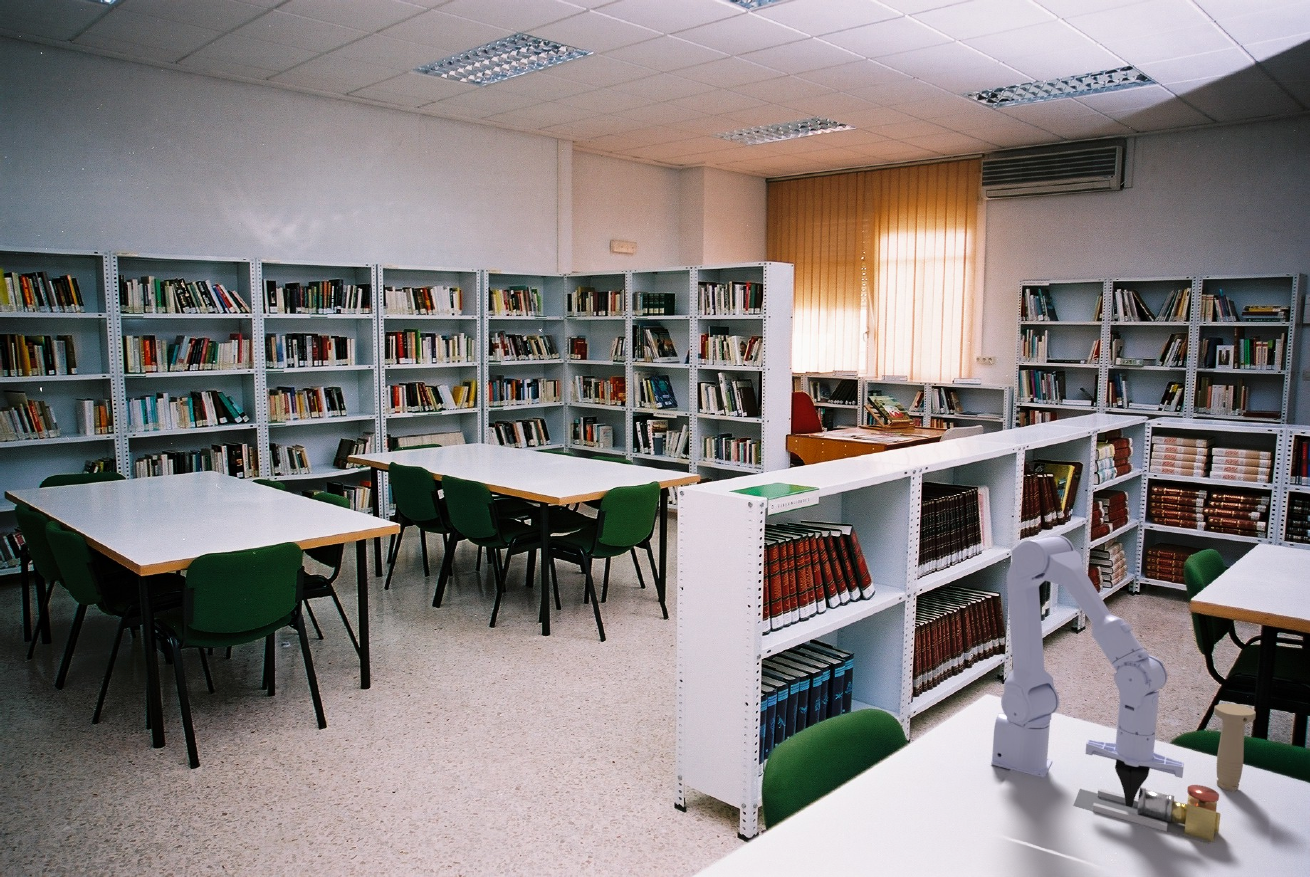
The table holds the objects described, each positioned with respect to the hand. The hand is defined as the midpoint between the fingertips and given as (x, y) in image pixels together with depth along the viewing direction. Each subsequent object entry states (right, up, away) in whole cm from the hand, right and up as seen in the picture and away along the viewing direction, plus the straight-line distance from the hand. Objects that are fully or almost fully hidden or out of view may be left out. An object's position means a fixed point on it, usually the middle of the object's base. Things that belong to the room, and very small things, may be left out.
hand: (1129, 804), depth 152 cm
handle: (+23, -1, +9) cm, 24 cm away
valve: (+9, -3, -5) cm, 10 cm away
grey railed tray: (+1, -2, -1) cm, 2 cm away
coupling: (+3, -2, -2) cm, 4 cm away
